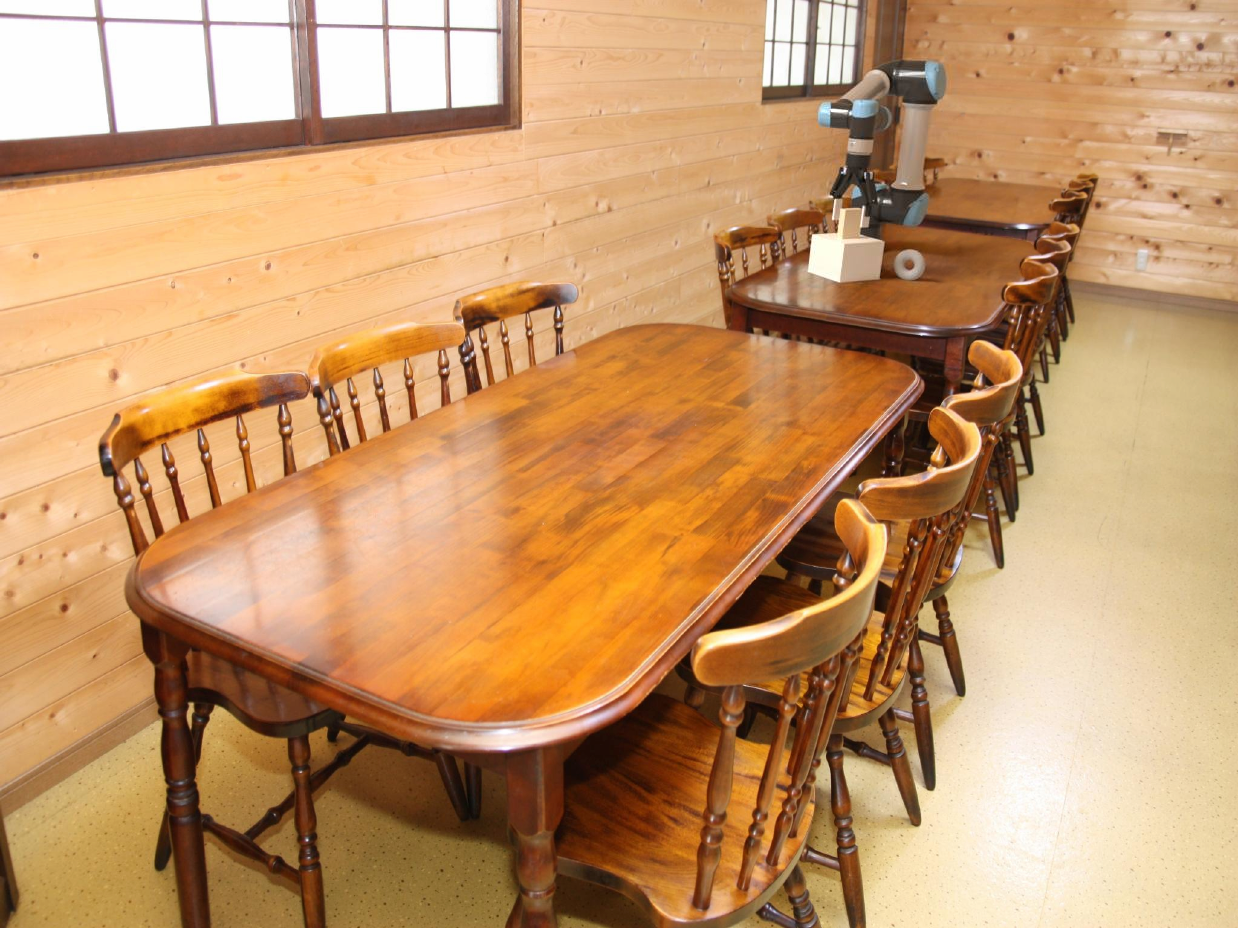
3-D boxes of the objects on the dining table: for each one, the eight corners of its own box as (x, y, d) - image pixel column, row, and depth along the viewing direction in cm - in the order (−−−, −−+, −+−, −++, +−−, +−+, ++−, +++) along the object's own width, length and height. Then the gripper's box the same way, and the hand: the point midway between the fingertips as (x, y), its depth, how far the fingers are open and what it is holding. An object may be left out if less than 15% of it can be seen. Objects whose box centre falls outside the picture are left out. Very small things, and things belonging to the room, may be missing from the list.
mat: (805, 272, 333) (805, 270, 333) (846, 269, 341) (847, 267, 341) (839, 284, 320) (839, 282, 320) (881, 280, 327) (881, 278, 327)
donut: (890, 279, 330) (894, 247, 326) (893, 277, 333) (898, 246, 329) (920, 284, 325) (925, 252, 321) (924, 282, 328) (929, 250, 324)
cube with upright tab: (807, 271, 333) (815, 205, 325) (846, 268, 340) (855, 204, 332) (839, 282, 320) (848, 214, 312) (879, 278, 327) (888, 212, 319)
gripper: (823, 148, 324) (815, 217, 332) (876, 158, 304) (866, 230, 312) (842, 148, 327) (834, 216, 336) (896, 158, 307) (885, 229, 315)
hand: (849, 223), depth 324 cm, fingers open, 13 cm apart
